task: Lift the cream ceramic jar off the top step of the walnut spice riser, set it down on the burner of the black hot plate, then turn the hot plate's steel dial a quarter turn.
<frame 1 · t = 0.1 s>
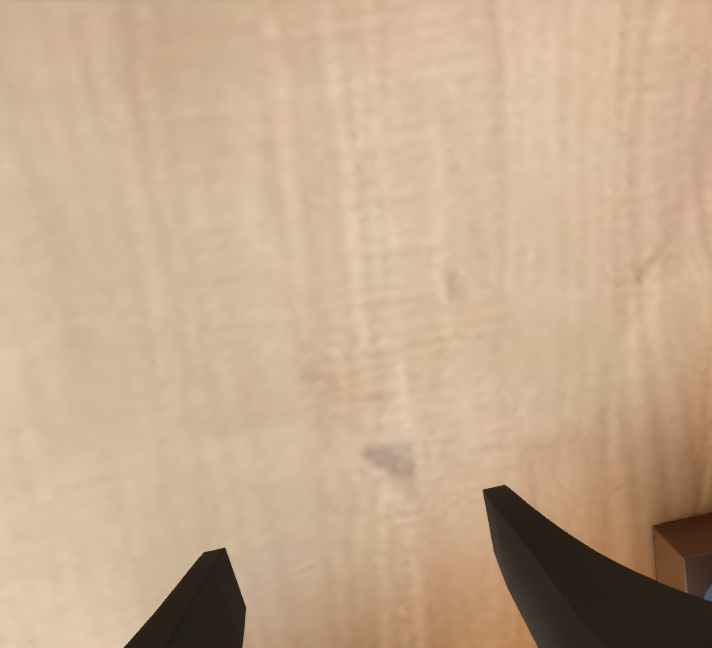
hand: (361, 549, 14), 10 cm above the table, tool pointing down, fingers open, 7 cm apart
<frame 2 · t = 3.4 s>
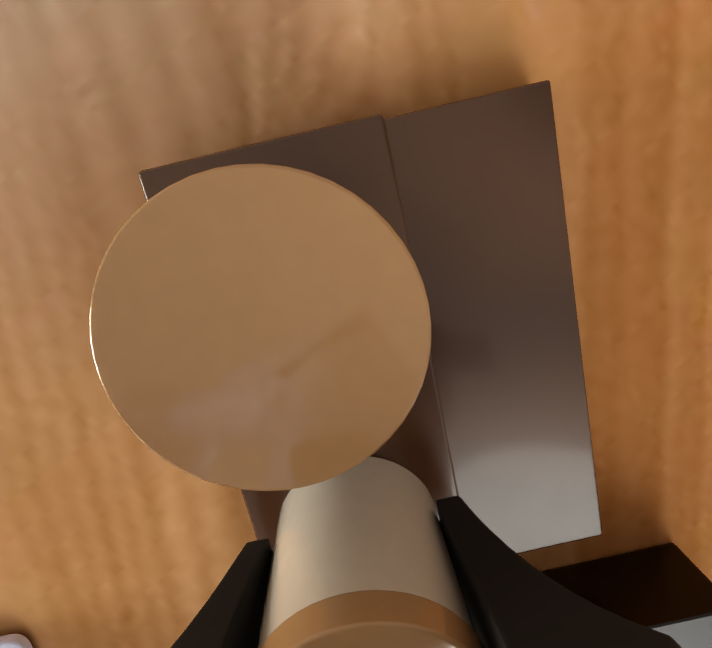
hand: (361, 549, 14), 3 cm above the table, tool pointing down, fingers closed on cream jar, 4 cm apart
cream jar: (358, 526, 15), point 2 cm above the table, touching gripper, spice riser
blue jar: (294, 275, 13), point 2 cm above the table, touching spice riser
spice riser: (399, 361, 16), on the table
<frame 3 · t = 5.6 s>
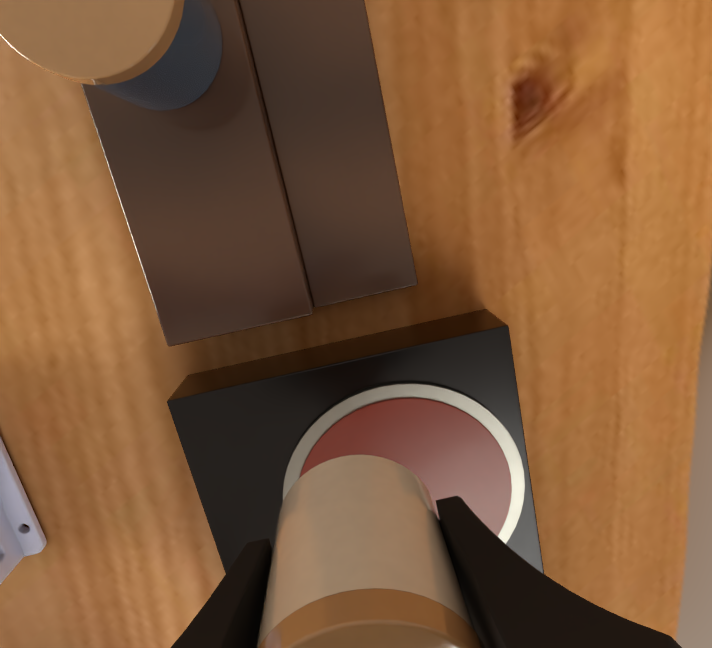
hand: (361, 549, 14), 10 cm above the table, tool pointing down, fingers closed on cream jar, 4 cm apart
cream jar: (357, 524, 15), point 9 cm above the table, touching gripper
hot plate: (376, 509, 25), on the table
blue jar: (155, 39, 17), point 2 cm above the table, touching spice riser
spice riser: (257, 143, 21), on the table
burner: (404, 494, 22), resting on hot plate
when the fingers open (4 cm above the table, at t = 7.9 s): cream jar stays where it is, resting on burner.
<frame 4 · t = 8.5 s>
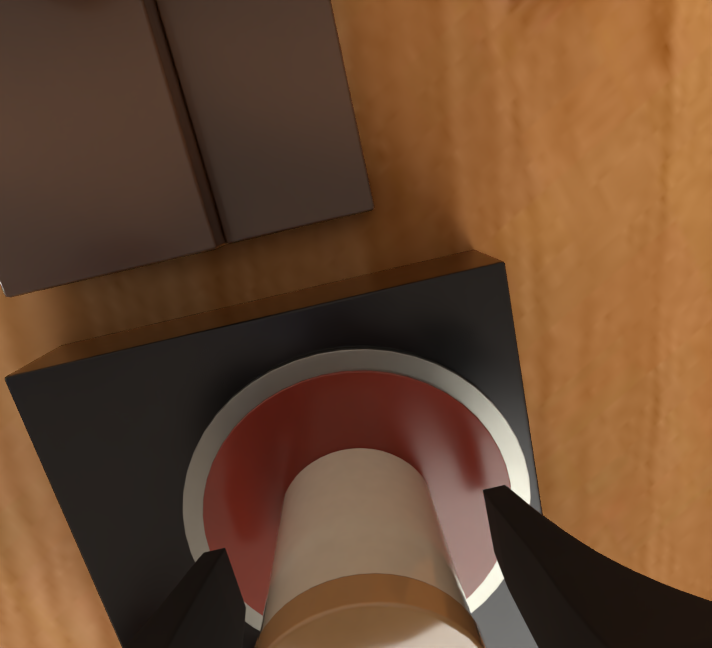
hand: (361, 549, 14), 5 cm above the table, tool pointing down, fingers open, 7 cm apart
cream jar: (358, 516, 15), point 3 cm above the table, touching burner
hot plate: (330, 527, 19), on the table
spice riser: (138, 3, 14), on the table
burner: (358, 511, 15), resting on hot plate
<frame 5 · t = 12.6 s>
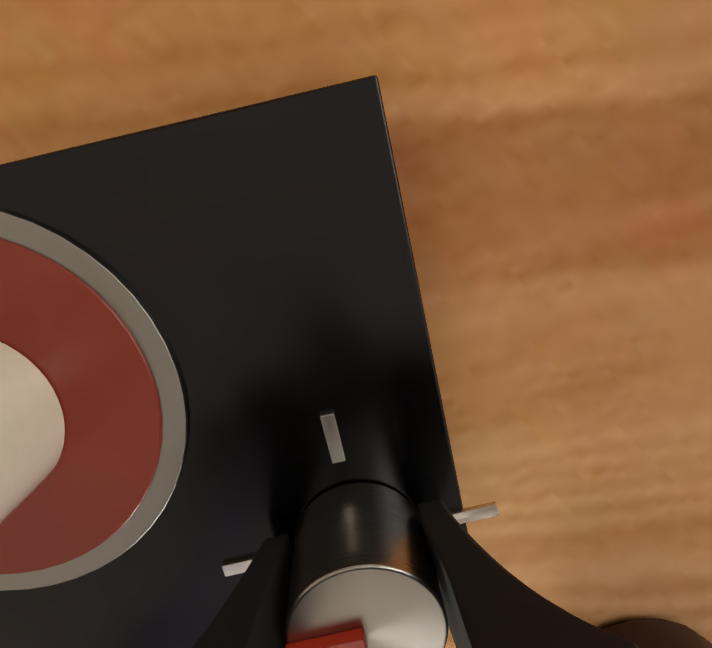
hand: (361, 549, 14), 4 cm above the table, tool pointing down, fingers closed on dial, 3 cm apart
hot plate: (138, 397, 16), on the table
dial: (363, 585, 12), point 5 cm above the table, hinge at 0.1°, touching gripper
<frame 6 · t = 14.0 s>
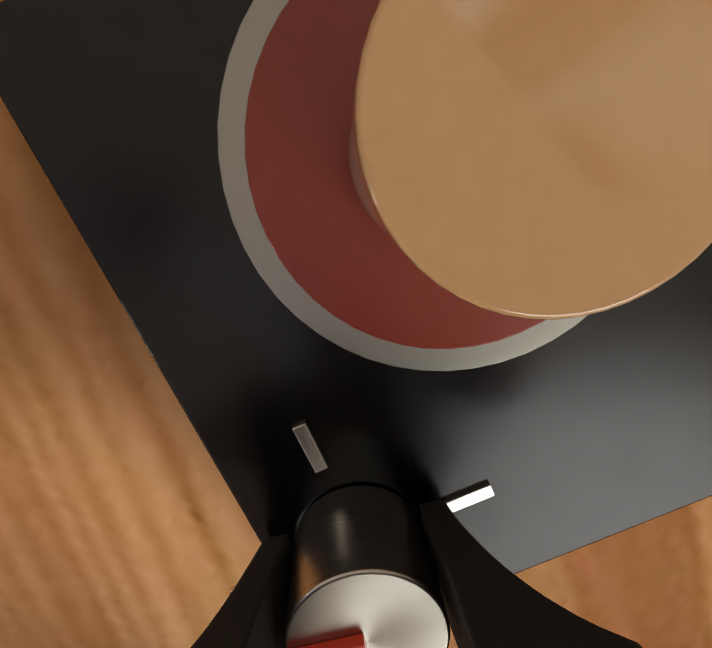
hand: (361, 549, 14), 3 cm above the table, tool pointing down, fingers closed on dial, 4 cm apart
cream jar: (452, 151, 11), point 3 cm above the table, touching burner
hot plate: (411, 261, 15), on the table
dial: (363, 590, 12), point 5 cm above the table, hinge at 78.8°, touching gripper
burner: (450, 152, 11), resting on hot plate
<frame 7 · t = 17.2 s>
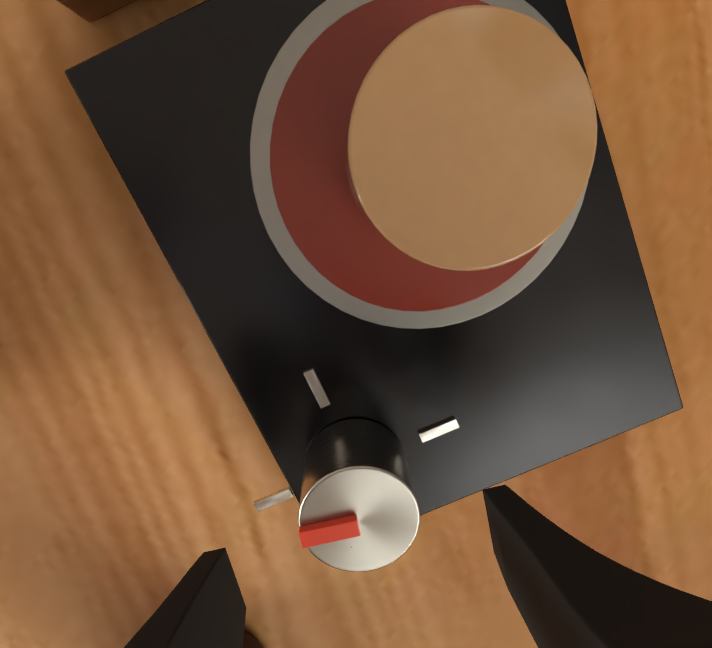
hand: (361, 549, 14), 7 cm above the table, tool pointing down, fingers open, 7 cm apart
cream jar: (422, 162, 15), point 3 cm above the table, touching burner
hot plate: (396, 248, 19), on the table
dial: (357, 492, 16), point 5 cm above the table, hinge at 78.5°
burner: (421, 163, 15), resting on hot plate
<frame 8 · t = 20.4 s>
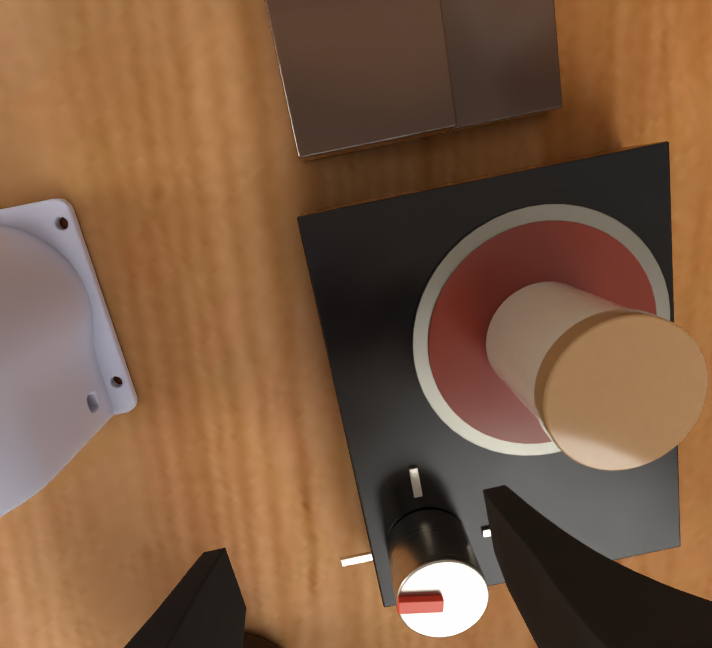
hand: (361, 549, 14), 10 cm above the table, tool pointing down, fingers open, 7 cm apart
cream jar: (542, 338, 20), point 3 cm above the table, touching burner
hot plate: (488, 375, 24), on the table
dial: (435, 572, 21), point 5 cm above the table, hinge at 78.5°
burner: (540, 336, 20), resting on hot plate
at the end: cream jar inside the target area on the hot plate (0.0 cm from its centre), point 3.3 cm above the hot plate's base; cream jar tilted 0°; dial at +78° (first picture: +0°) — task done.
